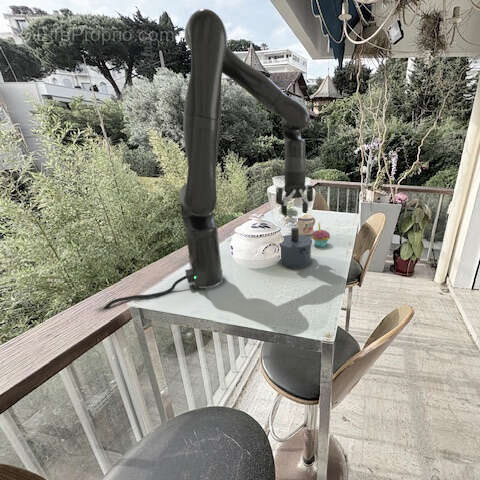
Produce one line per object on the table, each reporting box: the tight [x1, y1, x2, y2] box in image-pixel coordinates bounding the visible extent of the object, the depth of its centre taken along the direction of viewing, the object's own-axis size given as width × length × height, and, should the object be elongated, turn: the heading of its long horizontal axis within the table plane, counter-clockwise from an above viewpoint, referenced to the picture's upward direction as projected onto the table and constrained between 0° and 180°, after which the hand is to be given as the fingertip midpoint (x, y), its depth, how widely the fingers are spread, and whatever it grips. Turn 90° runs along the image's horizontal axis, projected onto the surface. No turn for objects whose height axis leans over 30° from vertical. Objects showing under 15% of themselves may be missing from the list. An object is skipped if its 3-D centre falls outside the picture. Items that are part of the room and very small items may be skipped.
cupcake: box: [311, 222, 331, 248], centre depth 122 cm, size 9×8×12 cm
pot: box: [278, 244, 312, 269], centre depth 106 cm, size 13×18×8 cm
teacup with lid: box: [296, 213, 316, 237], centre depth 138 cm, size 12×9×12 cm
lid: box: [278, 226, 313, 249], centre depth 103 cm, size 14×14×6 cm
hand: (294, 213), depth 100 cm, fingers open, 8 cm apart
